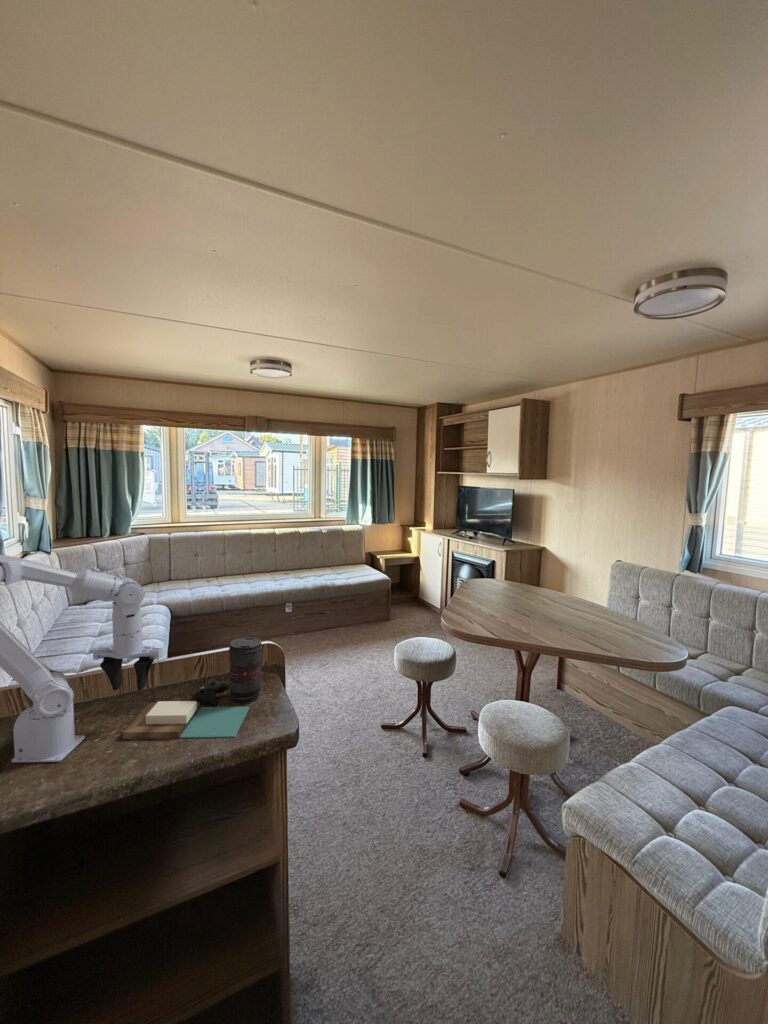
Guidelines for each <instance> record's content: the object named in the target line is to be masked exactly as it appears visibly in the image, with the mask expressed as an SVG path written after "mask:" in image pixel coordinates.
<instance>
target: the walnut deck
mask: <svg viewBox="0 0 768 1024" xmlns="http://www.w3.org/2000/svg"><path fill="white" fill-rule="evenodd" d="M156 704H157V702H149V703H148V704H147V705H146V706H145V708H144V709H143V710H142V711H141V712H140V713H139V714H138V715H137V716H136V717H135V718H134V719H133V720H132V721H131V722H130V724H129V725H128V726H127V727H126V728H124V730H123V731H122V733H121V734H122V739H123V740H134V739H136V740H137V739H138V740H142V739H143V740H144V739H147V740H148V739H156V740H157V739H180V736H181V734H182V733H183V731H184V730H185V729H186V727H187V726H188V724H189V723H190V721H191V720H192V718H193V717H194V716H195V714H196V713H197V711H198V710H199V708H200V707H201V706H200V705H201V703H200V702H197V710H196V711H195V713H194V714H193V715H192V717H191V718H190V720H189V721H188V722H187V724H146V715H147V714H148V713H149V711H150V710H151V709H152V708H153V707H154V706H155V705H156Z"/></svg>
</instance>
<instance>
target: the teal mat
mask: <svg viewBox="0 0 768 1024" xmlns="http://www.w3.org/2000/svg"><path fill="white" fill-rule="evenodd" d="M249 709H250V706H200V708H199V710H198V711H197V713H196V714H195V716H194V717H193V718H192V720H191V721H190V723H189V724H188V726H187V727H186V729H185V730H184V731H183V733H182V734H181V736H180V737H179V739H206V738H207V739H216V738H217V739H223V738H226V739H231V738H232V739H233V738H236V737H237V735H238V732H239V730H240V728H241V726H242V724H243V722H244V721H245V718H246V716H247V714H248V712H249Z"/></svg>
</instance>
